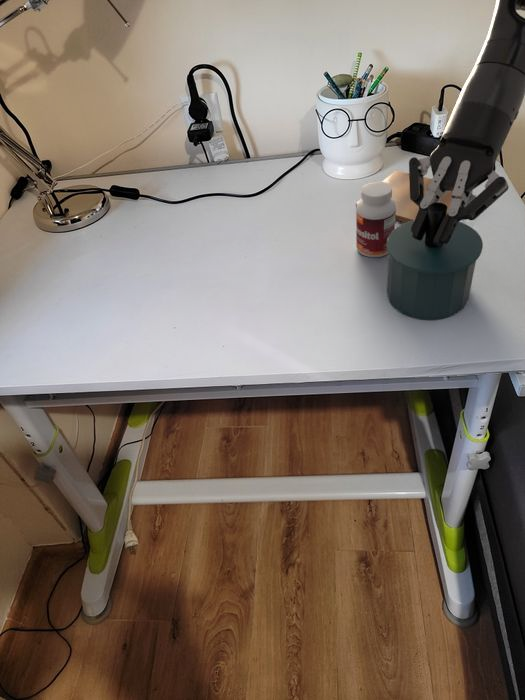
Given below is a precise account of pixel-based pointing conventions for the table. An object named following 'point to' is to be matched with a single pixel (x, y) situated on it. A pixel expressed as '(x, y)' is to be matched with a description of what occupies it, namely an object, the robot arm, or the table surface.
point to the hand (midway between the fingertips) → (427, 241)
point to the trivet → (401, 196)
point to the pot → (428, 291)
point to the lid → (428, 255)
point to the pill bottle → (375, 219)
